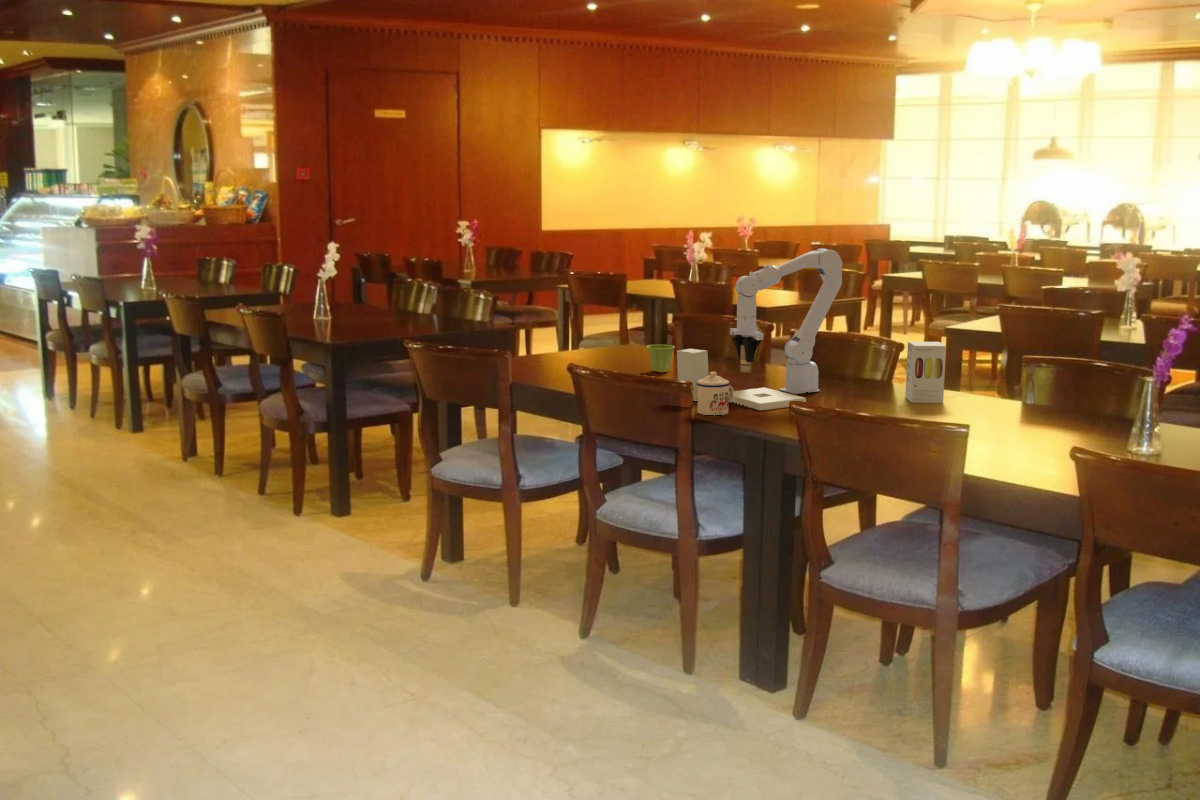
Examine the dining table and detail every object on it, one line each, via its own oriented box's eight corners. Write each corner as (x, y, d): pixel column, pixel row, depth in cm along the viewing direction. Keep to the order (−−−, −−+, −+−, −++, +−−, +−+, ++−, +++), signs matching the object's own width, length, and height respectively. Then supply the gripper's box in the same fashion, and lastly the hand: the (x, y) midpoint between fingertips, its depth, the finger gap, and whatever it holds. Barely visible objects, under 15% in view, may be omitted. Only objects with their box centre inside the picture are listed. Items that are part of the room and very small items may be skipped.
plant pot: (656, 368, 414) (656, 343, 412) (679, 371, 408) (679, 345, 407) (641, 372, 406) (641, 347, 404) (664, 375, 401) (664, 349, 399)
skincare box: (709, 400, 355) (710, 350, 353) (693, 402, 352) (693, 352, 349) (692, 396, 362) (692, 347, 360) (676, 398, 359) (676, 349, 356)
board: (764, 393, 364) (764, 387, 364) (805, 404, 347) (805, 397, 347) (720, 399, 357) (720, 392, 357) (760, 410, 340) (760, 403, 339)
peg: (747, 370, 367) (747, 344, 365) (753, 371, 364) (753, 345, 363) (738, 371, 365) (738, 345, 364) (744, 372, 363) (744, 346, 361)
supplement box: (910, 403, 347) (912, 345, 344) (904, 397, 356) (906, 341, 353) (944, 403, 347) (946, 345, 343) (937, 397, 356) (939, 340, 352)
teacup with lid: (711, 418, 330) (711, 376, 328) (689, 413, 338) (689, 371, 335) (743, 412, 338) (744, 371, 335) (721, 407, 345) (721, 367, 343)
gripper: (721, 314, 366) (721, 359, 369) (749, 319, 354) (749, 365, 356) (741, 313, 369) (740, 357, 372) (769, 317, 357) (768, 363, 359)
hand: (746, 361), depth 364 cm, fingers closed on peg, 3 cm apart
